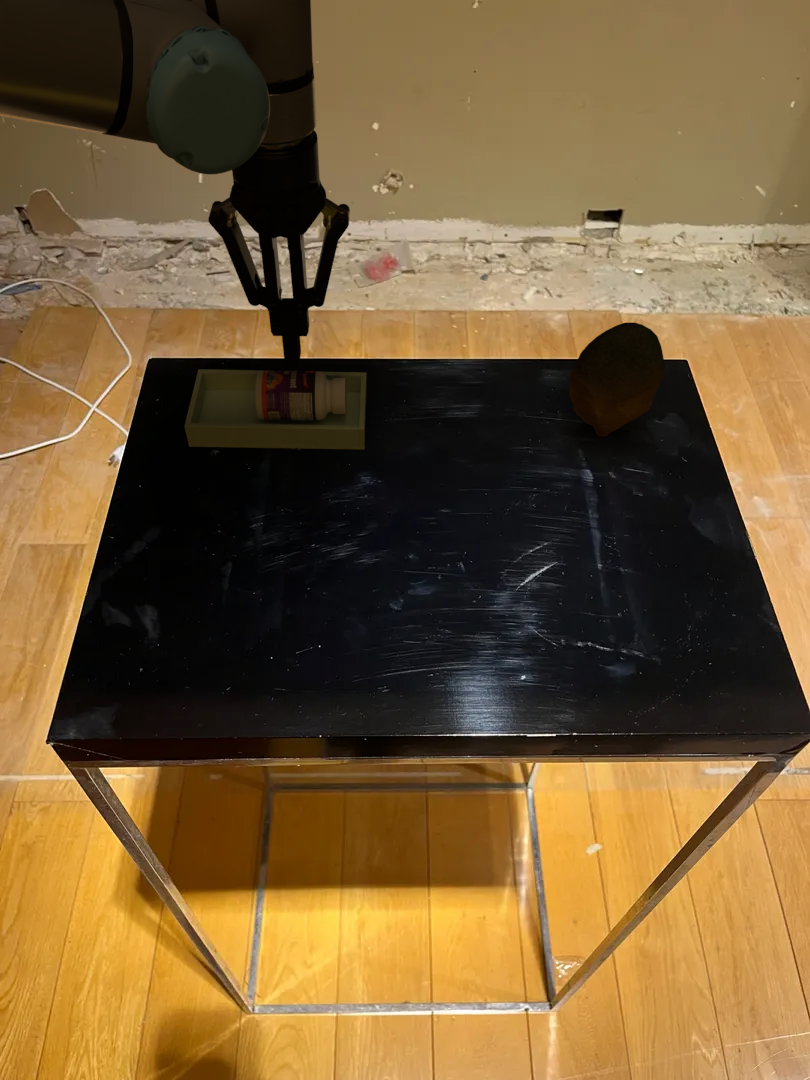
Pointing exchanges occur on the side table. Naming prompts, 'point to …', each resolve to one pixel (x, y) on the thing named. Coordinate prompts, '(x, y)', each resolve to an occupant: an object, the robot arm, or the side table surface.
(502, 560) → the side table surface
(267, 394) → the pill bottle
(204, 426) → the tray
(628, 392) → the decorative stone
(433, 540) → the side table surface
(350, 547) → the side table surface
